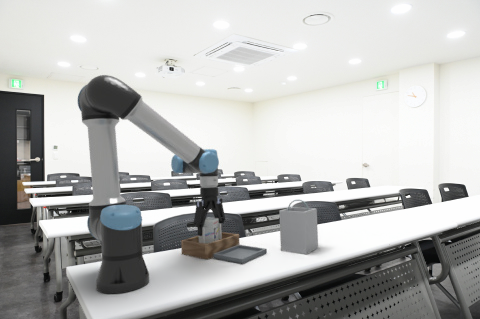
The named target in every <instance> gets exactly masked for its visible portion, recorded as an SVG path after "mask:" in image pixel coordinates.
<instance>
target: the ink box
mask: <svg viewBox="0 0 480 319" xmlns="http://www.w3.org/2000/svg"><path fill="white" fill-rule="evenodd" d="M203 227H205V244H208V243H211V242H214V241H218V240H219V218H215V217H210V216H209V217H208V216H207V217H206V219H205V222H204V225H203Z"/></svg>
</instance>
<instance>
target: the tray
mask: <svg viewBox="0 0 480 319" xmlns="http://www.w3.org/2000/svg"><path fill="white" fill-rule="evenodd" d="M266 253H267V248H264V247H256V246H250V245H246V244H245V245H244V244H240V245H236V246H234V247H231V248H228V249H225V250H223V251H220V252H217V253H214V254H213V258H212V259H214V260H218V261H223V262H227V263H234V264H238V265H244V264H246V263H248V262H251V261H253V260H255V259H257V258H260V257H262V256H264V255H266Z"/></svg>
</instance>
